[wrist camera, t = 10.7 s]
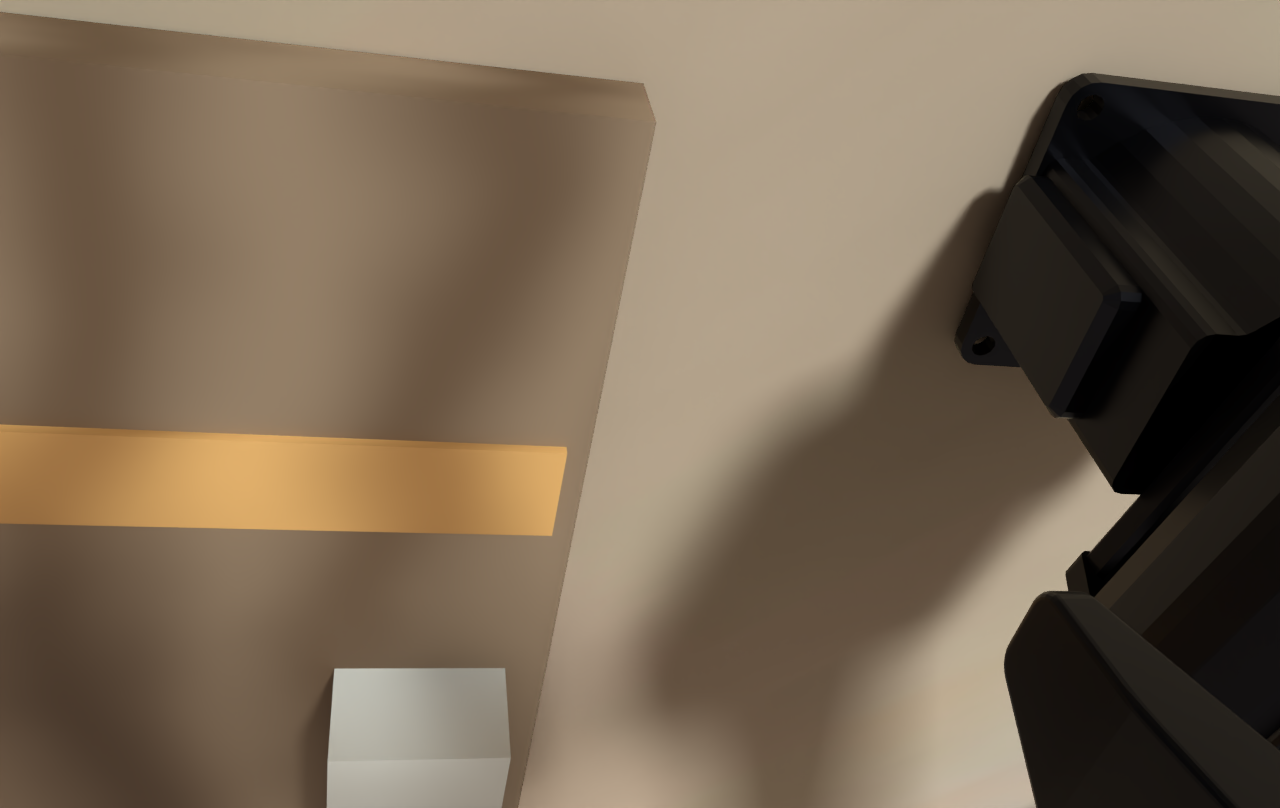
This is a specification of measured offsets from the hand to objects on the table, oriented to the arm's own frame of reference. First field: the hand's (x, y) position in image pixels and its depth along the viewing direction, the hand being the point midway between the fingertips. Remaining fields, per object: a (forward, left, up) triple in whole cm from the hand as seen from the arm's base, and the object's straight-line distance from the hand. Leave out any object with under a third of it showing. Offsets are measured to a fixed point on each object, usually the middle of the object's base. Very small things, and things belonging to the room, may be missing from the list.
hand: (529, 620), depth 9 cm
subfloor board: (+7, +12, -13) cm, 19 cm away
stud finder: (0, +19, -12) cm, 22 cm away
